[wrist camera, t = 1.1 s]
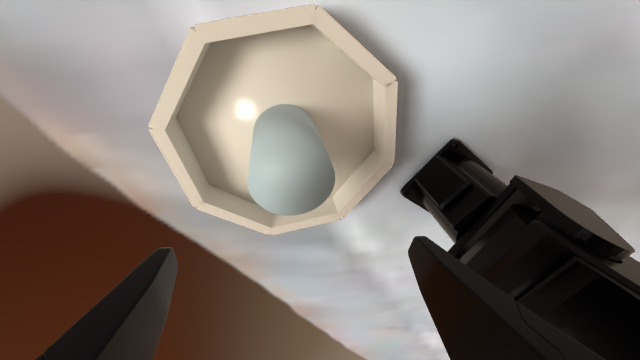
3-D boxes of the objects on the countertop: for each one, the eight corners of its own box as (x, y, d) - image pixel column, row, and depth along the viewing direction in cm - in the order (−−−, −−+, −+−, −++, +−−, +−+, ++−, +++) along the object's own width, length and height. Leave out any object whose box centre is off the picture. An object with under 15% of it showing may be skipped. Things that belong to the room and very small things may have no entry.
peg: (329, 126, 18) (352, 170, 13) (294, 172, 20) (303, 225, 15) (275, 90, 16) (278, 125, 11) (241, 144, 18) (231, 196, 13)
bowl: (420, 105, 19) (439, 117, 17) (308, 230, 24) (312, 251, 22) (239, -61, 12) (233, -75, 10) (140, 162, 17) (123, 182, 15)
